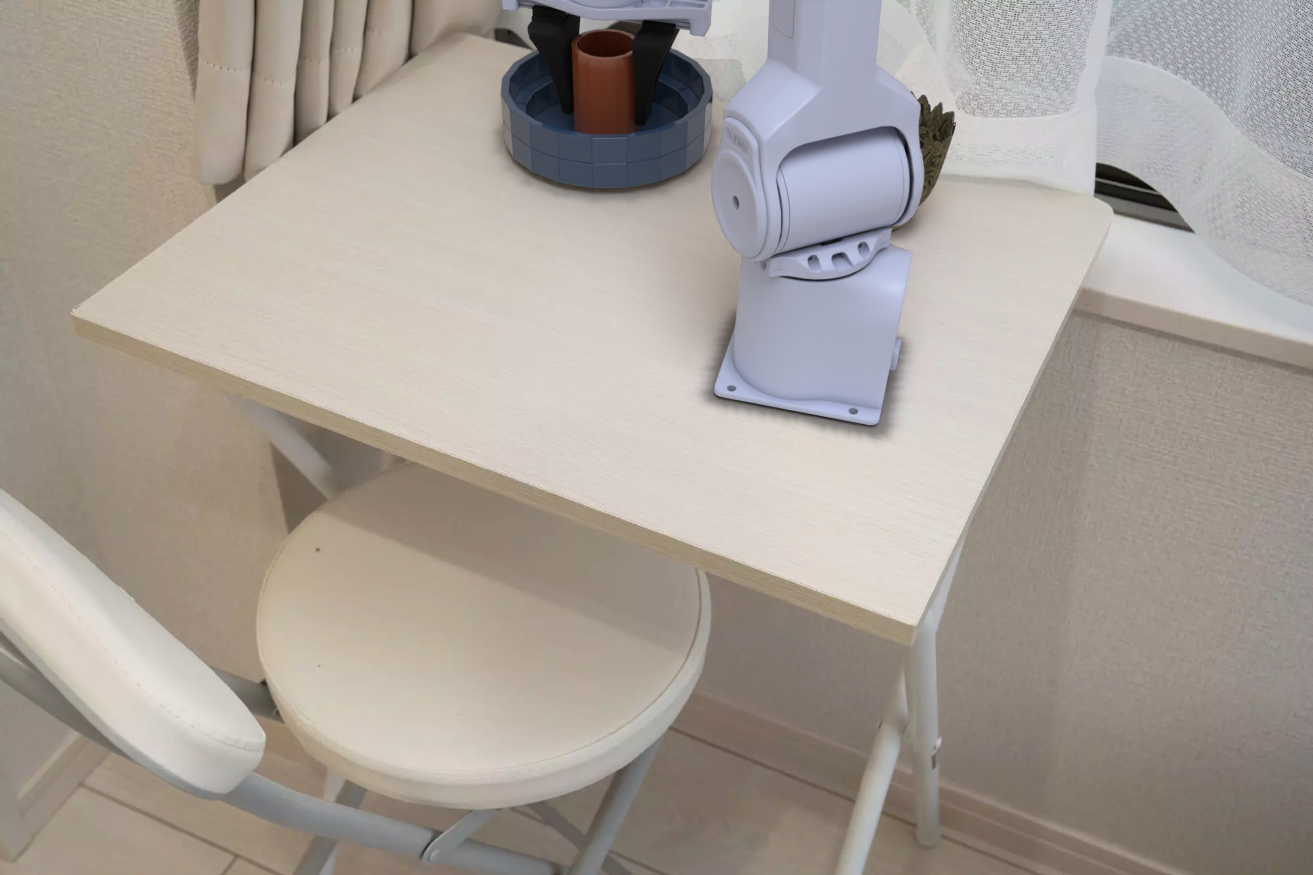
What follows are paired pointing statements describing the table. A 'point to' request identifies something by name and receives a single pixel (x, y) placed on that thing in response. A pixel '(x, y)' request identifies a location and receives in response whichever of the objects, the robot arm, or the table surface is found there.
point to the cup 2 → (933, 142)
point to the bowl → (607, 158)
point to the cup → (603, 82)
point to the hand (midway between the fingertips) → (607, 113)
